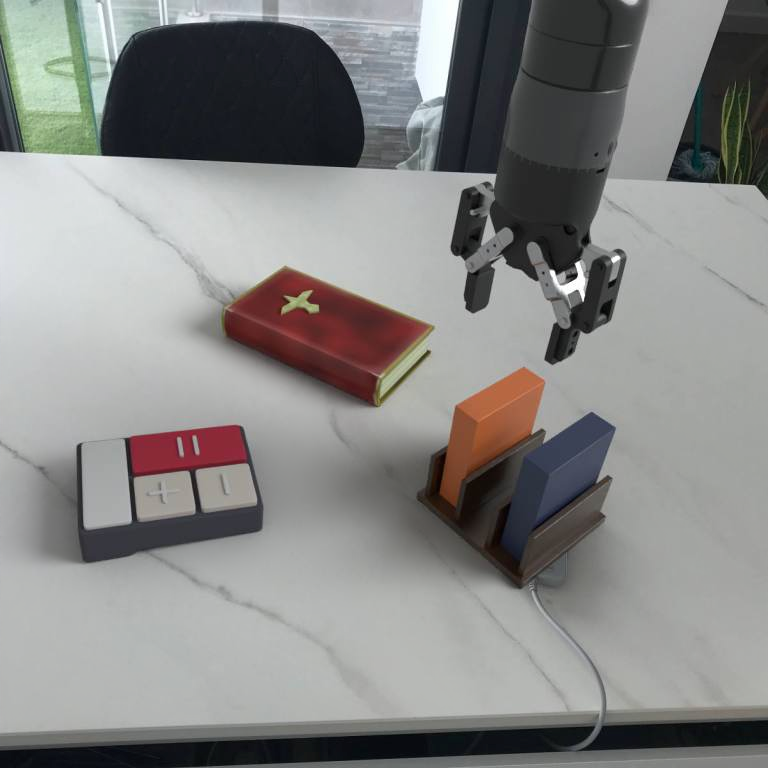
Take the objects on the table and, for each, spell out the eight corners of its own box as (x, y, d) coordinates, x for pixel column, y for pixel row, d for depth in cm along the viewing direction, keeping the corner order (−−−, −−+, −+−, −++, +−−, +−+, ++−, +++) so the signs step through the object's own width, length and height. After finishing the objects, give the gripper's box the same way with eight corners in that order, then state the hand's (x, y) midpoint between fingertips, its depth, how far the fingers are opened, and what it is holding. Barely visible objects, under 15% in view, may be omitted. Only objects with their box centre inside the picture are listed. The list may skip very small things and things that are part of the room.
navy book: (584, 514, 72) (616, 427, 65) (521, 563, 67) (549, 475, 60) (562, 498, 73) (591, 411, 66) (499, 544, 68) (523, 456, 61)
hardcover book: (376, 409, 82) (379, 378, 79) (222, 337, 90) (220, 307, 87) (430, 353, 90) (435, 324, 88) (285, 292, 98) (285, 263, 95)
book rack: (604, 521, 72) (621, 479, 69) (521, 589, 66) (535, 545, 62) (500, 444, 79) (511, 401, 76) (416, 498, 73) (423, 454, 69)
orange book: (522, 467, 76) (546, 380, 69) (458, 510, 71) (477, 422, 64) (502, 452, 77) (523, 366, 70) (438, 493, 72) (455, 405, 65)
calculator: (264, 502, 66) (76, 529, 61) (263, 535, 69) (82, 564, 64) (243, 418, 74) (74, 436, 69) (242, 450, 77) (80, 470, 72)
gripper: (446, 116, 55) (421, 308, 65) (612, 194, 47) (554, 397, 57) (515, 98, 59) (481, 280, 69) (679, 166, 51) (613, 360, 61)
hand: (514, 333), depth 63 cm, fingers open, 8 cm apart
